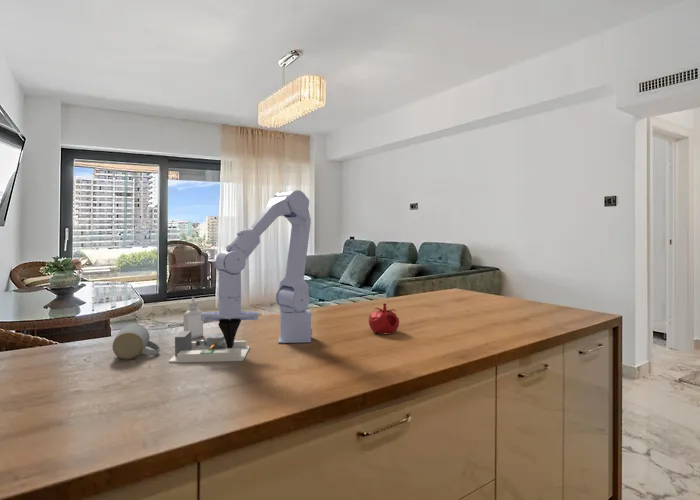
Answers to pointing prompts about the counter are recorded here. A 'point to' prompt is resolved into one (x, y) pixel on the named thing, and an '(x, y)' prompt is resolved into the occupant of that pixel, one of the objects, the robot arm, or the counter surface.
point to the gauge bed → (205, 351)
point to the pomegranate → (383, 321)
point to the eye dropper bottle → (193, 320)
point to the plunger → (213, 341)
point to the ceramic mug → (133, 342)
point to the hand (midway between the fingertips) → (230, 347)
